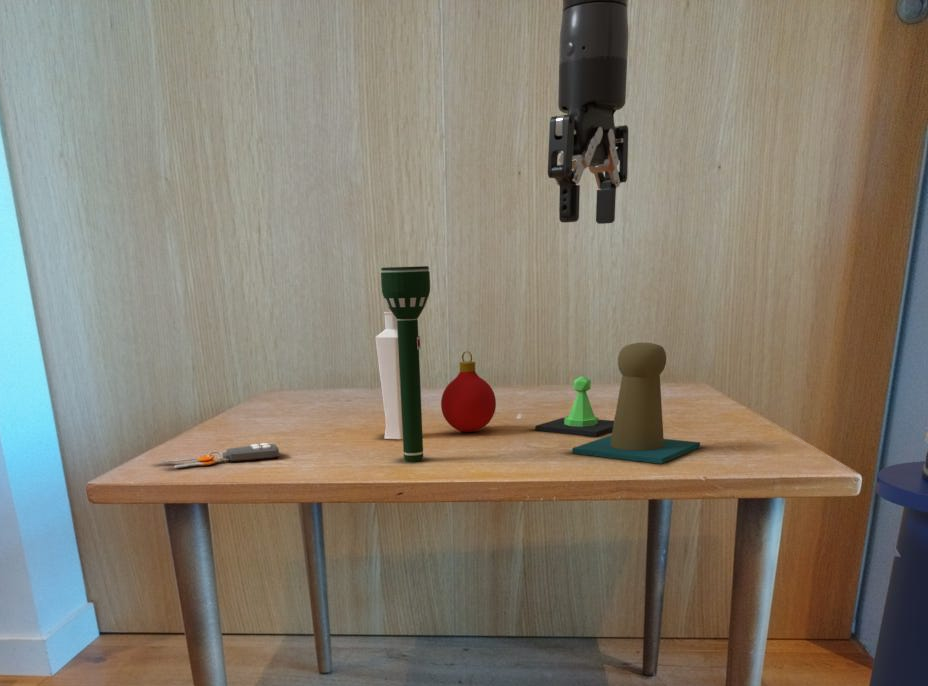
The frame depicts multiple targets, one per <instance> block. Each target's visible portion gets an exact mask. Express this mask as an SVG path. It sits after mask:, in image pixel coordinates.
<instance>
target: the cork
mask: <svg viewBox="0 0 928 686" xmlns="http://www.w3.org/2000/svg"><path fill="white" fill-rule="evenodd" d="M666 365H667V353H666V351H665V349H664V346H662V345H660V344H657V343H653V342H635V343H630V344H627V345H624V346H623V347H622V348H621V349H620V351H619V353H618V356H617V367H618V371H619V372H620V373H621V381H620V387H619V392H618V397H617V403H616V409H615V415H614V420H613V421H614V425H613V431H611V435H612V437H611V442H610V446H611V447H613V448H617V449H623V450H653V449H659V448H662V447H663V446H664V439H665V437H664V424H663V423H664V422H663V406H662V391H661V390H662V389H661V374H662V373H663V372H664V370H665V367H666Z"/></svg>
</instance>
